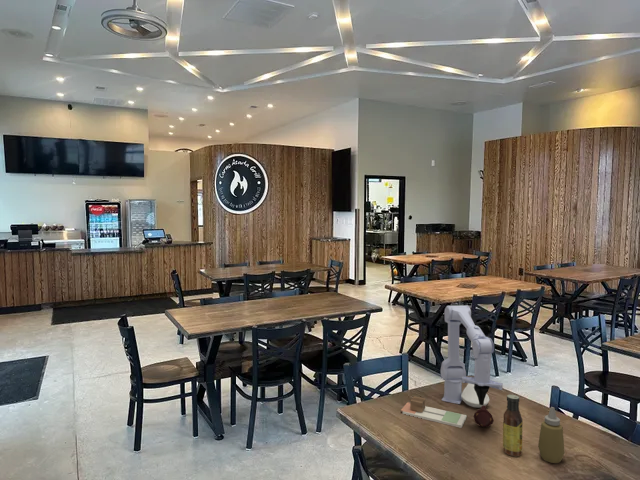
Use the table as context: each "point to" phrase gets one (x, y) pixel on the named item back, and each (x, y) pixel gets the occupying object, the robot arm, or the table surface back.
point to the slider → (417, 404)
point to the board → (437, 415)
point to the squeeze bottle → (551, 438)
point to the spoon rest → (472, 396)
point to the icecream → (483, 417)
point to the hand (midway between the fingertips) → (481, 403)
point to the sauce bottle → (512, 427)
